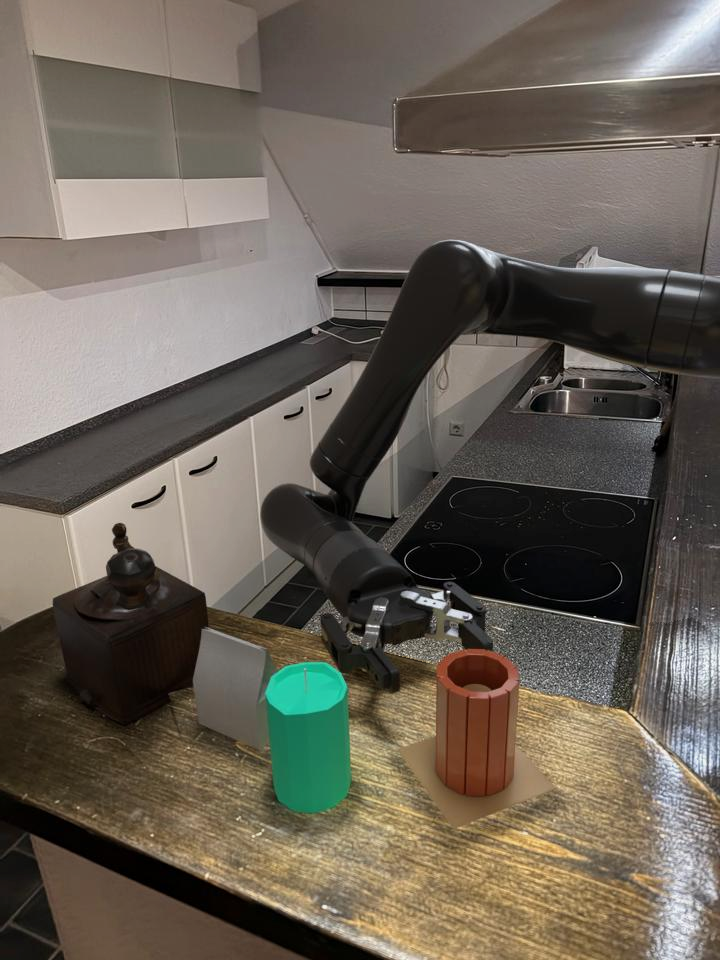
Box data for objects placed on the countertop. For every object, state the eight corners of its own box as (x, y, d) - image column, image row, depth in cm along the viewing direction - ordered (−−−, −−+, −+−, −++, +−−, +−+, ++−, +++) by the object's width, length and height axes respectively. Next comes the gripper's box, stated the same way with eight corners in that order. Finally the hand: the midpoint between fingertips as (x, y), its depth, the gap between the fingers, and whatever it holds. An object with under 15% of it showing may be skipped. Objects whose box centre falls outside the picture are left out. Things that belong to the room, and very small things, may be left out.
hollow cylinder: (485, 732, 63) (489, 641, 60) (528, 781, 58) (535, 683, 55) (421, 754, 61) (422, 661, 58) (460, 807, 56) (463, 707, 53)
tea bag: (261, 764, 63) (252, 663, 59) (200, 736, 66) (187, 638, 62) (288, 737, 66) (280, 639, 62) (228, 712, 69) (217, 617, 65)
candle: (299, 761, 63) (290, 637, 58) (365, 783, 60) (360, 656, 56) (259, 812, 58) (246, 682, 54) (329, 839, 56) (321, 705, 51)
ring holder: (490, 730, 66) (494, 647, 63) (555, 803, 58) (563, 712, 55) (396, 763, 62) (395, 677, 59) (452, 844, 55) (455, 751, 52)
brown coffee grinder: (58, 685, 73) (21, 515, 67) (156, 635, 81) (132, 478, 74) (149, 760, 63) (117, 570, 57) (251, 696, 71) (234, 521, 64)
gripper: (292, 562, 72) (362, 653, 58) (425, 532, 77) (519, 608, 63) (296, 630, 74) (365, 732, 61) (425, 596, 80) (515, 683, 66)
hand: (443, 669), depth 62 cm, fingers open, 8 cm apart
